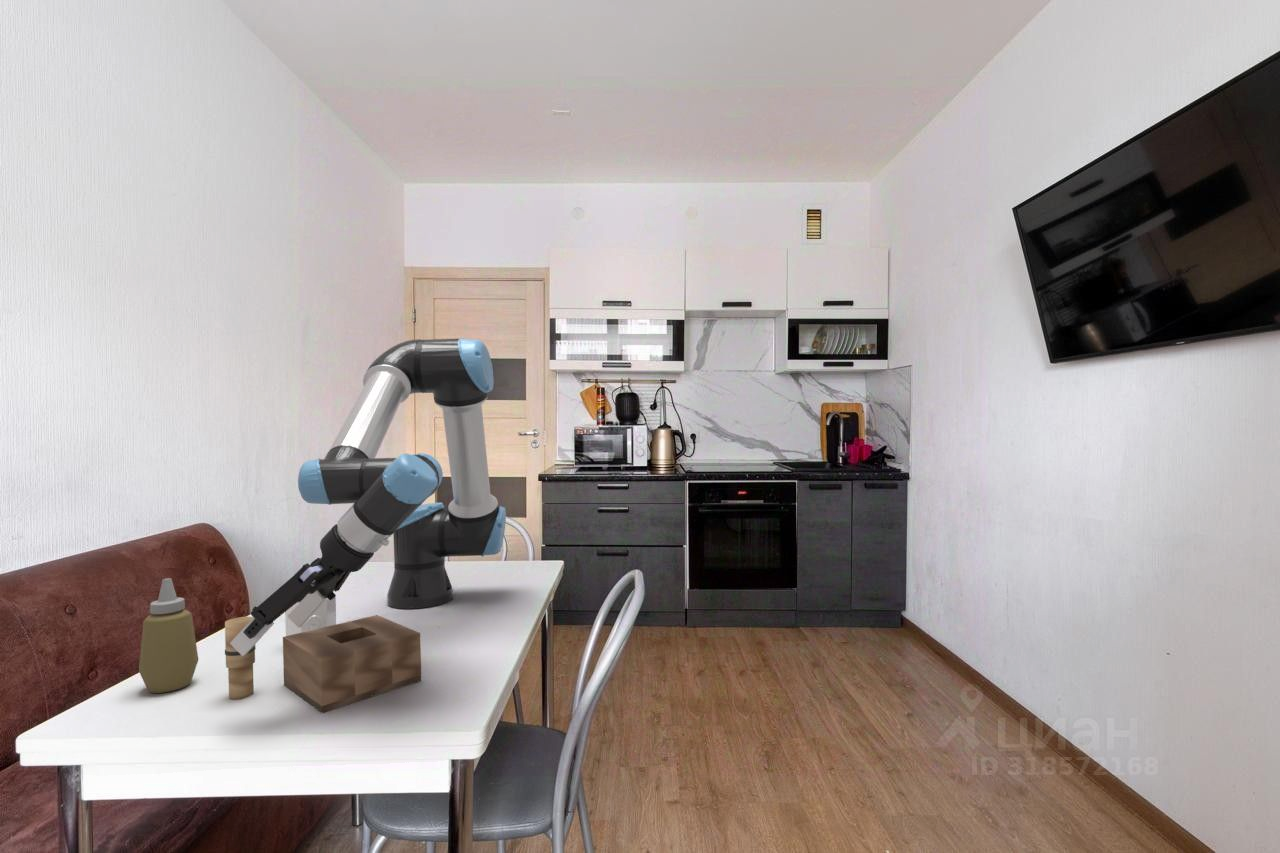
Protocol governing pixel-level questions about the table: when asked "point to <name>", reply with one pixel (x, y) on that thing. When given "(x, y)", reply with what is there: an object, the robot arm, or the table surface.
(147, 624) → the squeeze bottle
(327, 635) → the walnut socket block
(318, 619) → the jar
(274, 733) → the table surface
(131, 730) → the table surface
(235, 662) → the oak peg
